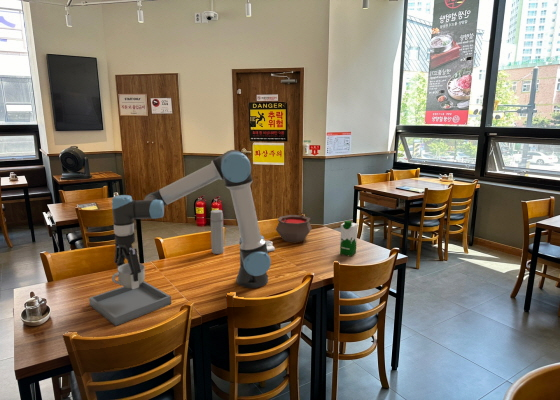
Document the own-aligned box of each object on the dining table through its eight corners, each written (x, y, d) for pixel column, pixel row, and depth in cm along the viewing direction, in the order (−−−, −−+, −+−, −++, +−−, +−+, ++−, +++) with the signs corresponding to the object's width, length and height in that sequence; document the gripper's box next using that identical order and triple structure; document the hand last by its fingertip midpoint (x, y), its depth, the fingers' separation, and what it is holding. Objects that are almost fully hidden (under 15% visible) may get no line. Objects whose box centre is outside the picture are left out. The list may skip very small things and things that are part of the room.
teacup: (139, 277, 166) (137, 260, 165) (150, 285, 159) (149, 267, 157) (106, 287, 157) (105, 268, 155) (117, 295, 149) (115, 276, 147)
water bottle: (221, 255, 218) (220, 213, 212) (209, 254, 219) (207, 212, 214) (227, 249, 227) (226, 209, 221) (214, 248, 228) (213, 208, 223)
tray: (171, 303, 160) (170, 296, 159) (115, 326, 143) (114, 317, 142) (143, 287, 176) (142, 280, 175) (89, 305, 159) (89, 297, 158)
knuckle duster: (252, 256, 217) (241, 249, 229) (279, 250, 226) (267, 244, 238) (252, 250, 216) (241, 243, 228) (279, 245, 226) (267, 238, 238)
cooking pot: (288, 231, 264) (288, 208, 260) (318, 237, 250) (319, 214, 247) (268, 240, 244) (268, 216, 241) (299, 247, 231) (299, 221, 227)
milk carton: (338, 254, 220) (339, 221, 215) (344, 249, 227) (345, 217, 223) (352, 257, 215) (353, 223, 211) (358, 252, 222) (359, 219, 218)
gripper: (147, 237, 148) (151, 289, 152) (120, 226, 163) (124, 273, 168) (129, 241, 142) (133, 295, 147) (102, 229, 158) (107, 278, 162)
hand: (128, 284), depth 157 cm, fingers closed on teacup, 11 cm apart
